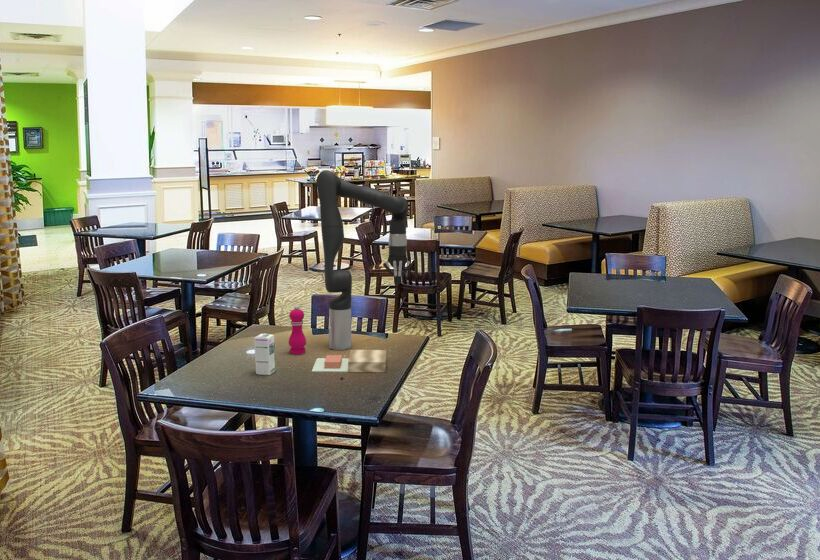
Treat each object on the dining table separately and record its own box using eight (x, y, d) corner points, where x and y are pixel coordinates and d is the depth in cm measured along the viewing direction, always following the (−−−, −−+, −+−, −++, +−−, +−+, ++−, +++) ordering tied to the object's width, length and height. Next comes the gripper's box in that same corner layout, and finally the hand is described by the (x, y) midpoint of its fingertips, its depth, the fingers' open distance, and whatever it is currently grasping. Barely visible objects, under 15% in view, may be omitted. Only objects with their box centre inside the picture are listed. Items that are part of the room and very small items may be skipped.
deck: (348, 372, 261) (348, 362, 260) (351, 359, 277) (351, 349, 276) (385, 372, 261) (385, 362, 261) (386, 359, 277) (386, 350, 276)
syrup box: (270, 375, 257) (268, 337, 254) (255, 374, 258) (253, 336, 255) (276, 370, 262) (274, 333, 260) (261, 369, 263) (260, 332, 261)
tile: (339, 362, 264) (340, 368, 264) (342, 355, 273) (342, 361, 273) (324, 362, 264) (324, 368, 264) (326, 355, 273) (327, 361, 273)
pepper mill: (308, 350, 289) (307, 303, 285) (304, 355, 282) (303, 307, 278) (291, 349, 290) (290, 303, 286) (286, 354, 282) (285, 307, 279)
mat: (311, 371, 261) (311, 370, 261) (317, 359, 277) (317, 358, 277) (347, 372, 261) (347, 371, 261) (350, 359, 277) (350, 358, 277)
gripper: (381, 245, 286) (381, 286, 289) (413, 245, 286) (413, 286, 289) (382, 242, 293) (382, 282, 296) (413, 243, 293) (413, 283, 296)
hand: (397, 284), depth 293 cm, fingers closed
